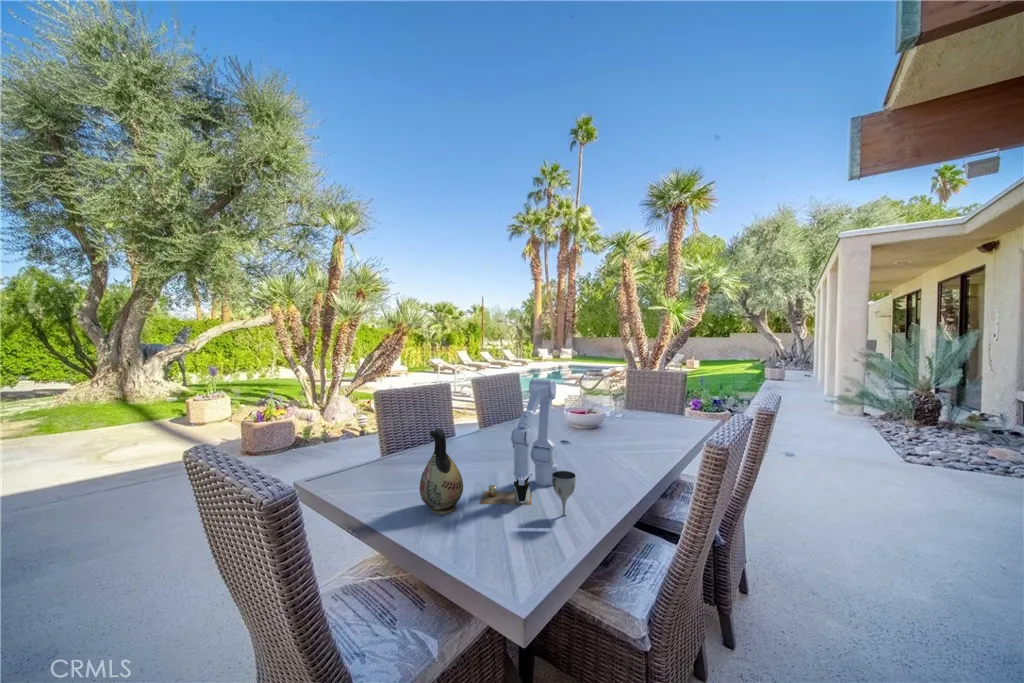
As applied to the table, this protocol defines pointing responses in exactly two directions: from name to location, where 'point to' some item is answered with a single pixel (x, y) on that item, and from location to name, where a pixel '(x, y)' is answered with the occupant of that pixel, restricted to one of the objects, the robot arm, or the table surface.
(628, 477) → the table surface
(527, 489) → the steel collar
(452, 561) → the table surface
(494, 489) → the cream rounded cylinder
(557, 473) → the wine glass
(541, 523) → the table surface
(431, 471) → the ceramic jug
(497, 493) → the walnut board
